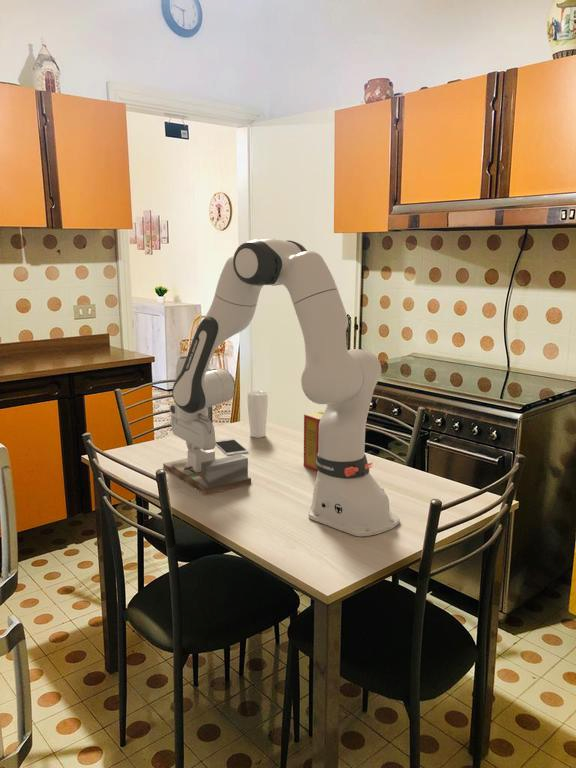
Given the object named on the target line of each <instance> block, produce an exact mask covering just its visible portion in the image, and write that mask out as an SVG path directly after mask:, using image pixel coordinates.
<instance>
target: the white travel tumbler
mask: <svg viewBox="0 0 576 768" xmlns="http://www.w3.org/2000/svg"><path fill="white" fill-rule="evenodd" d="M268 402H269V400H268V392H267V391H263V390H253V391H248V392H247V411H248V414H247V415H248V421H249V422H248V423H249V425H248V426H249V435H250V437H252V438H256V439H257V438H264V437H265V436H266V434H267V417H268V406H269V404H268Z"/></svg>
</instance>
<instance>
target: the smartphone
mask: <svg viewBox="0 0 576 768" xmlns="http://www.w3.org/2000/svg"><path fill="white" fill-rule="evenodd" d="M215 442H216V445H215V447H217V448H218V449H219V450H221V452H223V454H225V455H226V457H229V456H233V455H238V454H241V455H244V454H249V450H248V449H246V448H245V447H244V446H243V445H242V444H241V443H240V442H239V441H237V440H236V439H235V438H233V437H230V438H223V439H215Z"/></svg>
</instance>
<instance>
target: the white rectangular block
mask: <svg viewBox="0 0 576 768" xmlns="http://www.w3.org/2000/svg"><path fill="white" fill-rule="evenodd" d="M186 451H187V458H188V467H187V468H184V470H187V469H191V470H193V471H195V472H196V473H197V472H201V463H202V462H206V461H211V460H215V459H216V452H215V450H214V449H211V450H205V451H204V450H202V449H200V448H199V449H194V450H186Z"/></svg>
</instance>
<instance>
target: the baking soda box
mask: <svg viewBox="0 0 576 768" xmlns="http://www.w3.org/2000/svg"><path fill="white" fill-rule="evenodd" d="M324 412H325V410H320V411H316V412H309V413H306V414H303V467H305V468H307V469H309V470H311V471H313V472H314V471H315V473H318V470H317V468H316V458H317V453H318V444H319V422H320V419H321V417H322V416H323V414H324Z"/></svg>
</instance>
